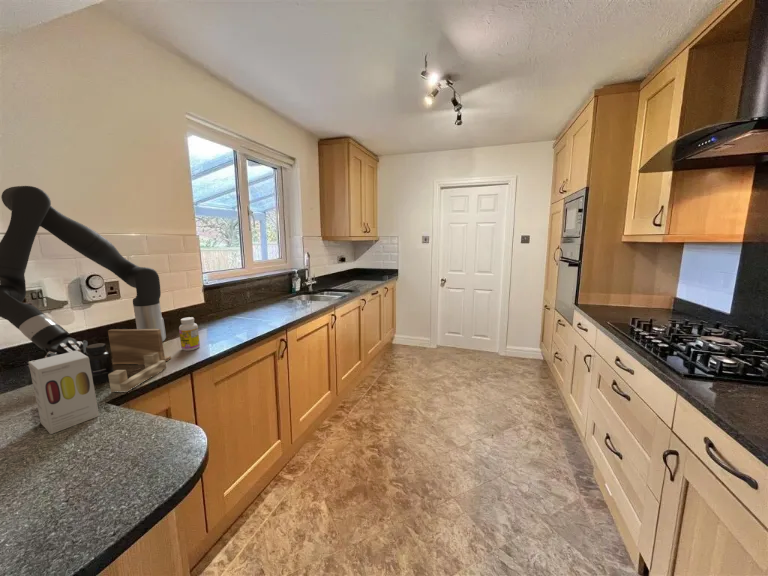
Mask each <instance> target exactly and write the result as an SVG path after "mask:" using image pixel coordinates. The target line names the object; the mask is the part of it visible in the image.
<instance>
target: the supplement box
mask: <svg viewBox="0 0 768 576" xmlns="http://www.w3.org/2000/svg"><path fill="white" fill-rule="evenodd" d="M27 364H28V367H29V372H30V376H31V381H32V386H33V391H34V396H35V401H36V406H37V410H38V415H39V421H40V424H41V425H42V426H43V427H44V428H45V430H46V431H47V432H48V433H49V434H50V435H53V434H55V433H57V432H61V431H63V430H65V429H68V428H69V429H70V428H71V427H74V426H76V425H79V424H81V423H84V422H87V421H90V420H92V419H95V418H97V417H99V416H100V415H99V408H98V404H97V403H98V402H97V396H96V391H95V390H96V389H95V384H93V379H92V373H91V367H90V362H89V357H88V356H86V355H84V354H82V353H81V352H79V351H77V350H76V351H72V352H69V353H64V354H60V355H55V356H51V357H47V358H45V357H43V358H39V359H36V360H31V361H28V363H27Z"/></svg>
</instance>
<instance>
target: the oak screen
mask: <svg viewBox="0 0 768 576" xmlns="http://www.w3.org/2000/svg"><path fill="white" fill-rule="evenodd" d="M107 335H108V341H109V345H110V346H109V347H110V353H111V356H112V363H113V364H138V365H145V363H144V355H146V354H148V353H158V354H159V361H161V360H165V363H166V361H167V362H168V361H170V360H171V359H172V357H171V356H169V355H167V356H166V355H165V349H164V343H163V341H162V336H161V329H137V328H133V329H132V328H129V329H128V328H122V329H119V328H117V329H115V328H113V329H112V328H111V329H109V330H107ZM169 359H170V360H169Z"/></svg>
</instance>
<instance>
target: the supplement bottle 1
mask: <svg viewBox="0 0 768 576" xmlns="http://www.w3.org/2000/svg"><path fill="white" fill-rule="evenodd" d="M106 345H107V344H106V343H102V342H101V343H100V342H99V343H92V344H89V345H88V346H87V347H86V353H87V355H86V356H88V357H89V362H90V367H91V373H92V379H93V384H94V385H99V384H103V383H106V381H107V382H109V377H108V374H110V373H112V372H114V371H115V370H114V366H113V358H112V353H111V351H108V350H107V346H106Z"/></svg>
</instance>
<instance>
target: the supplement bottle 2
mask: <svg viewBox="0 0 768 576" xmlns="http://www.w3.org/2000/svg"><path fill="white" fill-rule="evenodd" d="M180 323H181V324H180V325H179V327H178V330H179V339H180V348H181V350H182V351H186V352H188V351H189V352H190V351H193V350H194V351H195V350H197V349H199V348H200V347H201V343H200V335H199V327H198V324H197V323H195V318H194V317H193V316H191V317H190V316H188V317H183V318H181V319H180Z"/></svg>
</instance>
